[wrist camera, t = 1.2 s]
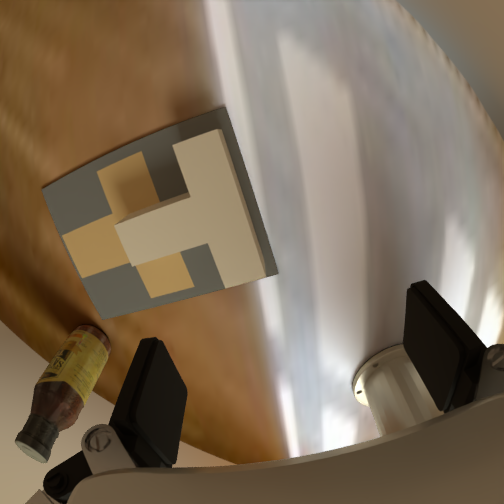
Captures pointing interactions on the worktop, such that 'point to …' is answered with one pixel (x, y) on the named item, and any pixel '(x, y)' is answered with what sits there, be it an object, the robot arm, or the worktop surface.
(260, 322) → the worktop surface
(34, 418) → the sauce bottle
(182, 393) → the robot arm
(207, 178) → the T block
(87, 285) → the mat
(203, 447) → the worktop surface
